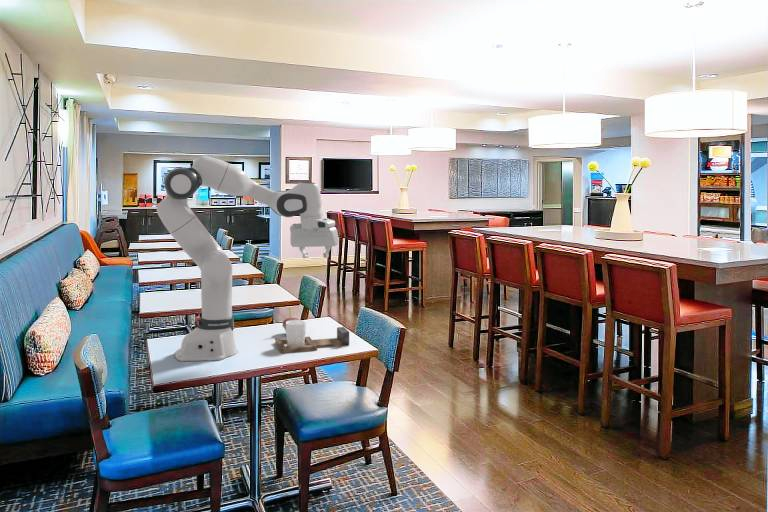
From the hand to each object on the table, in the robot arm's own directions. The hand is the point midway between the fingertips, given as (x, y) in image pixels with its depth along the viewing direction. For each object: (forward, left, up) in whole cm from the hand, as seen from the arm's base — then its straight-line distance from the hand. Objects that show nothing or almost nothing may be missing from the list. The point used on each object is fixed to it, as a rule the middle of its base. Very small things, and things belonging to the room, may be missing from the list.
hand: (315, 257), depth 228 cm
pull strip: (0, 0, -36) cm, 36 cm away
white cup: (-8, 0, -36) cm, 37 cm away
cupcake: (-6, +18, -36) cm, 41 cm away
